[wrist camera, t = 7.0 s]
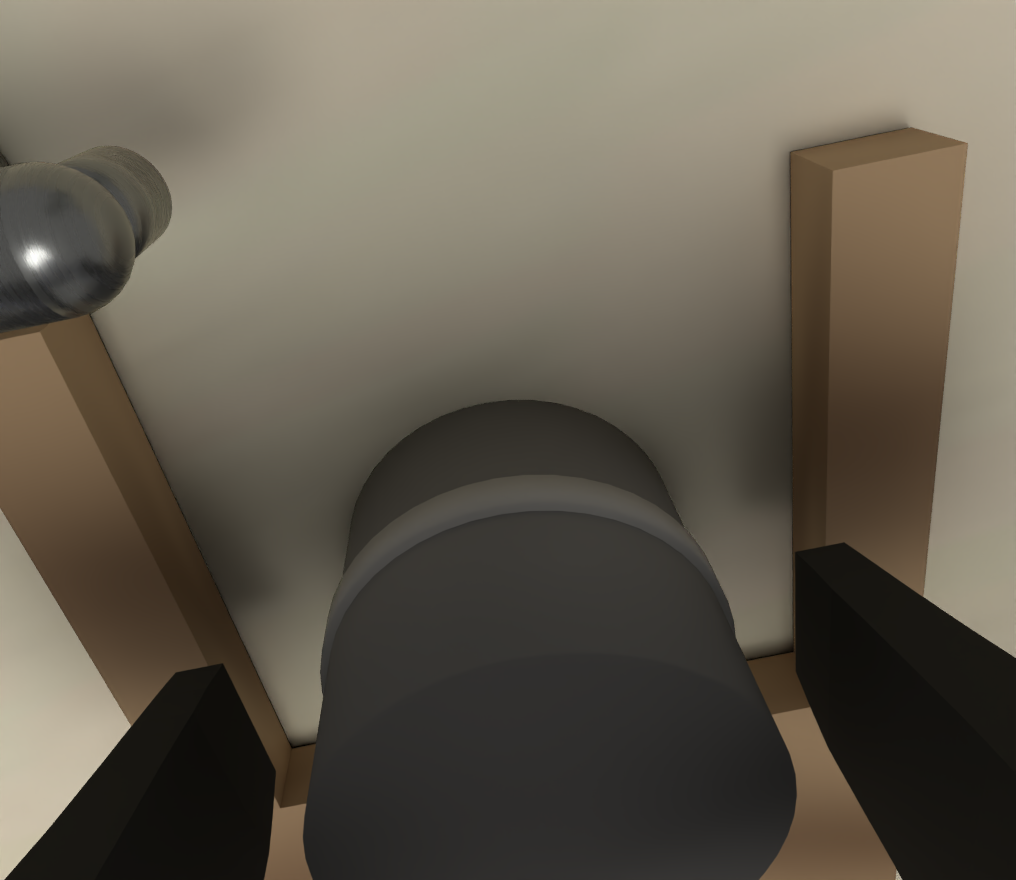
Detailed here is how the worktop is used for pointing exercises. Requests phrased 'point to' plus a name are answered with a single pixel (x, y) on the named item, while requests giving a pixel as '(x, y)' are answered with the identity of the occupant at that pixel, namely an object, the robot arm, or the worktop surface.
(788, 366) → the worktop surface
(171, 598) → the brown wooden u-shaped bracket
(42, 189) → the hook
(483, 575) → the grey flanged cylinder
